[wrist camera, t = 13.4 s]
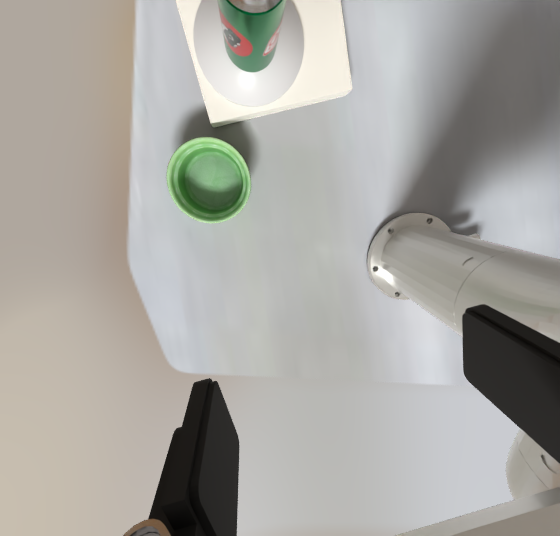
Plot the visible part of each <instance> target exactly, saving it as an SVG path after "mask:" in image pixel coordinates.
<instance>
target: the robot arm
mask: <svg viewBox="0 0 560 536" xmlns="http://www.w3.org/2000/svg"><path fill="white" fill-rule="evenodd" d="M388 229H389V231H388ZM367 267H368V272H369V276H370V278H371V280H372V282H373V284H374V285H375V286H376V287H377V288H378V289H379V290H380V291H381V292H383V293H384V294H386V295H387V296H389V297H392V298H395V299H401V300H408V299H411V300H412V301H413V302H415V303H416V304H417V305H419V306H420V307H422V308H423V309H424V310H426V311H427V312H428V313H430V314H431V315H433V316H434V317H435V318H437V319H438V320H439V321H441V322H442V323H444V324H445V325H446V326H448V327H449V328H450V329H452V330H453V331H455V332H456V333H457V334H459V335H460V336H461V337H463V370H464V375H465V377H466V379H467V380H468V381H469V382H470V383H471V384H472V385H473V386H474V387H475V388H477V389H478V390H479V391H480V392H481V393H482V394H483V395H484V396H485V397H486V398H487V399H489V400H490V401H491V402H492V403H493V404H494V405H495V406H496V407H497V408H499V409H500V410H501V411H502V412H503V413H504V414H505V415H506V416H507V417H509V418H510V419H511V420H512V421H513V422H514V423H515V424H517V426H518V427H519V428H520V429H519V432H518V434H517V436H516V438H515V440H514V442H513V444H512V446H511V449H510V451H509V454H508V458H507V462H506V477H507V483H508V486H509V489H510V492H511V495H512V497H513V499H514V500H513V501H509V502H506V503H502V504H499V505H496V506H492V507H489V508H486V509H482V510H479V511H476V512H472V513H469V514H466V515H462V516H459V517H455V518H452V519H449V520H446V521H442V522H439V523H435V524H432V525H429V526H426V527H422V528H419V529H416V530H412V531H409V532H406V533H402V534H399V535H396V536H560V259H556V258H552V257H548V256H544V255H540V254H536V253H532V252H528V251H524V250H520V249H516V248H512V247H508V246H504V245H500V244H496V243H492V242H488V241H484V240H481V239H480V236H479V235H478V234H477V233H476V234H471V235H468V236H464V235H460V234H456V233H453V232H451V230H450V229H449V228H448V226H447V225H446V224H445V223H444V222H443V221H442V220H441V219H439V218H437V217H435V216H433V215H429V214H425V213H408V214H404V215H401V216H399V217H397V218H394V219H393V220H391V221H390V222H388V223H387V224H386V225H385V226H384V227H383V228H382V229H381V230H380V231H379V232H378V233H377V235H376V236H375V238H374V239H373V241H372V243H371V245H370V249H369V252H368V258H367ZM373 267H374V268H373ZM238 471H239V439H238V435H237V432H236V429H235V427H234V424H233V422H232V419H231V416H230V414H229V411H228V409H227V406H226V403H225V400H224V398H223V395H222V393H221V390H220V387H219V385H218V382H217V381H214V382H212V380H211V379H210V378H209V379H205V380H201V381H198V382H195V383H194V384H193V387H192V391H191V395H190V398H189V402H188V406H187V410H186V413H185V417H184V421H183V425H182V427H180V428H177V429H176V430H175V431H174V434H173V437H172V440H171V444H170V447H169V451H168V454H167V457H166V461H165V464H164V468H163V471H162V474H161V478H160V481H159V484H158V488H157V491H156V495H155V498H154V502H153V505H152V509H151V512H150V515H149V519H148V520H144V521H142V522H140V523H138V524H136V525H134V526H133V527H132V528H131V529H130V530H128V531H127V532H126V533H125V534H124V535H123V536H237V535H236V534H237V504H238V502H237V501H238Z"/></svg>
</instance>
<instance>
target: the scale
mask: <svg viewBox="0 0 560 536" xmlns="http://www.w3.org/2000/svg"><path fill="white" fill-rule="evenodd" d="M176 3H177V7H178V10H179V14H180V17H181V21H182V24H183V28H184V31H185V35H186V38H187V42H188V46H189V49H190V53H191V56H192V60H193V63H194V67H195V70H196V74H197V77H198V81H199V84H200V88H201V91H202V95H203V98H204V102H205V105H206V109H207V113H208V116H209V120H210V123H211V125H212V126H213V128H214V127H219V126H223V125H227V124H231V123H235V122H239V121H243V120H248V119H252V118H256V117H260V116H264V115H268V114H273V113H277V112H281V111H285V110H289V109H293V108H297V107H302V106H306V105H310V104H314V103H318V102H322V101H327V100H331V99H335V98H339V97H343V96H345V95H347V94H348V93H349V92H350V91H351V90H352V83H351V76H350V68H349V60H348V53H347V45H346V37H345V30H344V22H343V14H342V7H341V0H286V5H285V10H284V14H283V19H282V23H281V28H280V32H279V37H278V42H277V46H276V51H275V54H274V57H273V59H272V61H271V62H270V64H269V65H268V66H267V67H266V68H264V69H263V70H261V71H258V72H246V71H243V70H241V69H239V68H238V67H237V66H236V65H235V64H233V62H232V61H231V60H230V58H229V56H228V54H227V52H226V48H225V43H224V37H223V31H222V25H221V19H220V13H219V7H218V1H217V0H176Z"/></svg>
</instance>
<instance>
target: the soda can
mask: <svg viewBox="0 0 560 536" xmlns="http://www.w3.org/2000/svg"><path fill="white" fill-rule="evenodd" d="M217 1H218V7H219V13H220V19H221V25H222V31H223V37H224V43H225V48H226V52H227V54H228V56H229V58H230V60H231V61H232V62H233V64H235V65H236V66H237V67H238V68H239V69H241V70H243V71H246V72H258V71H261V70H263V69H264V68H266V67H267V66H268V65H269V64H270V62H271V61H272V59H273V57H274V54H275V51H276V46H277V42H278V37H279V32H280V28H281V23H282V19H283V14H284V10H285V5H286V0H217Z"/></svg>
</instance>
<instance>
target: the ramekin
mask: <svg viewBox="0 0 560 536" xmlns="http://www.w3.org/2000/svg"><path fill="white" fill-rule="evenodd" d="M167 185H168V189H169V192H170V195H171V197H172V199H173V201H174V202H175V204H176V205H177V206H178V207H179V209H180V210H181V211H182V212H184V213H185V214H186V215H188V216H189V217H191V218H193V219H195V220H198V221H201V222H205V223H219V222H223V221H226V220H229V219H231V218H232V217H234V216H235V215H237V214H238V213H239V212H240V211H241V210H242V209H243V207H244V206H245V204H246V203H247V201H248V198H249V195H250V190H251V177H250V173H249V169H248V166H247V164H246V162H245V160H244V158H243V157H242V156H241V154H240V153H239V152H238V151H237V150H236V149H235V148H234V147H233V146H232V145H230V144H229V143H227V142H225V141H223V140H220V139H217V138H213V137H199V138H195V139H192V140H189V141H187V142H186V143H184V144H182V145H181V146H180V147H179V148H178V149H177V150H176V151H175V153H174V154H173V156H172V157H171V159H170V162H169V164H168V168H167Z"/></svg>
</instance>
